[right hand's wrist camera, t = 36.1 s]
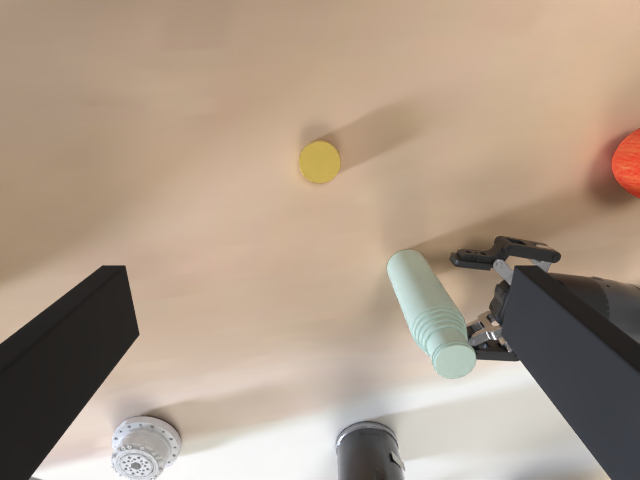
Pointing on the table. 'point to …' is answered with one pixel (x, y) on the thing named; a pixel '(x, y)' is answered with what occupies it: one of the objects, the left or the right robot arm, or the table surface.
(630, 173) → the apple
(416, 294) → the bottle
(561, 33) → the table surface
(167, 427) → the mechanical component
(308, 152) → the cap
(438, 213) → the table surface
